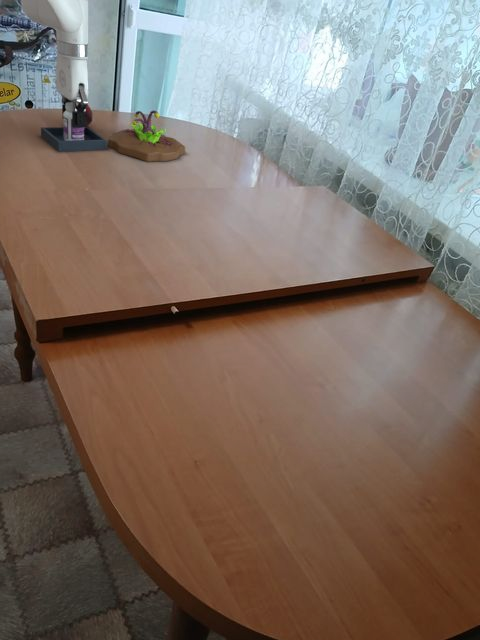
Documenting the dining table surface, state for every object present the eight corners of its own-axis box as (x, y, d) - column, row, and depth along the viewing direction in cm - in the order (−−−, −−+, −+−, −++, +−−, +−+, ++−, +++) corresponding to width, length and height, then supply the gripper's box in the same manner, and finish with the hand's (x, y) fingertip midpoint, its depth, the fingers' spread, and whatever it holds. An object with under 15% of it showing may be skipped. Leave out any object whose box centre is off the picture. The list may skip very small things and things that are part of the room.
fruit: (85, 124, 166) (85, 96, 162) (97, 132, 162) (97, 104, 157) (60, 124, 162) (60, 95, 157) (71, 133, 157) (71, 103, 153)
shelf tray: (58, 151, 144) (58, 141, 142) (41, 136, 150) (40, 127, 149) (106, 149, 152) (106, 140, 150) (87, 135, 158) (87, 126, 157)
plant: (152, 166, 148) (155, 124, 142) (97, 144, 154) (97, 102, 147) (194, 154, 163) (198, 115, 157) (143, 134, 169) (145, 95, 162)
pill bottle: (86, 140, 153) (86, 104, 147) (80, 145, 149) (80, 108, 143) (67, 136, 153) (66, 100, 147) (60, 141, 148) (59, 104, 143)
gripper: (43, 40, 140) (46, 113, 150) (73, 57, 130) (73, 134, 141) (72, 42, 144) (73, 113, 155) (102, 59, 135) (101, 133, 145)
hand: (73, 122), depth 148 cm, fingers closed on pill bottle, 5 cm apart
